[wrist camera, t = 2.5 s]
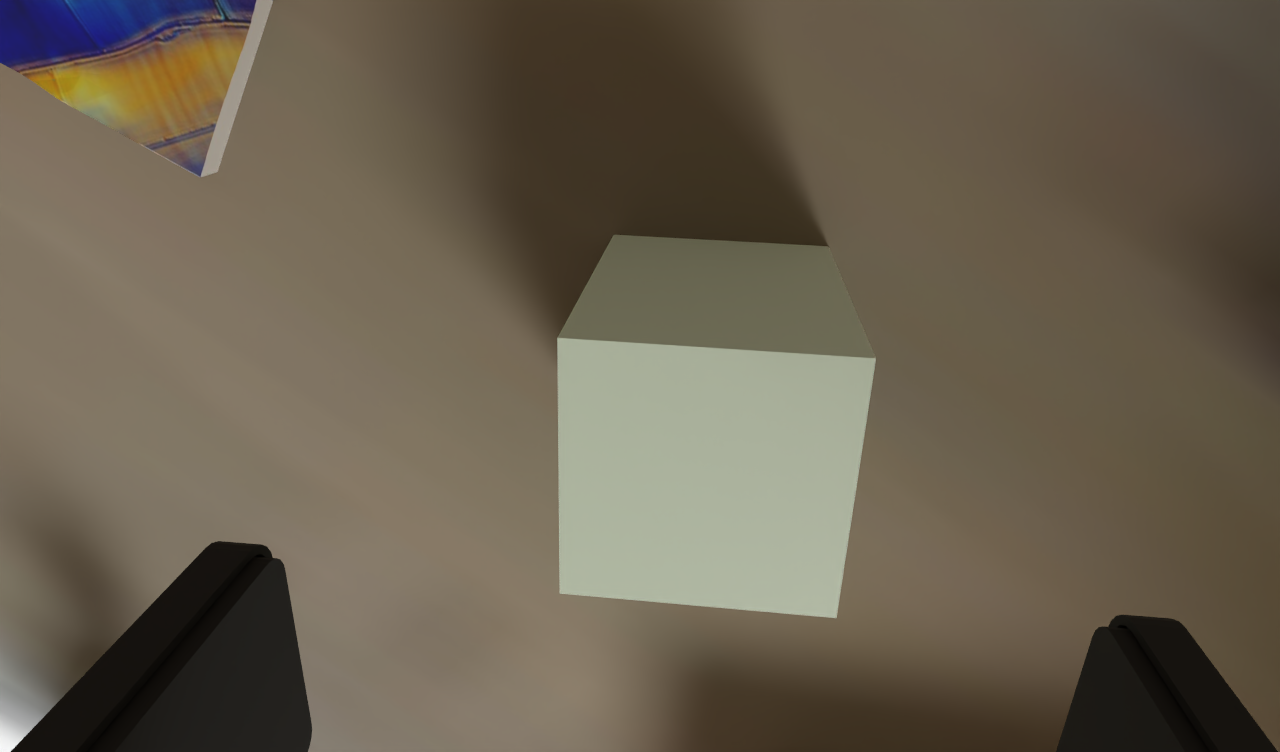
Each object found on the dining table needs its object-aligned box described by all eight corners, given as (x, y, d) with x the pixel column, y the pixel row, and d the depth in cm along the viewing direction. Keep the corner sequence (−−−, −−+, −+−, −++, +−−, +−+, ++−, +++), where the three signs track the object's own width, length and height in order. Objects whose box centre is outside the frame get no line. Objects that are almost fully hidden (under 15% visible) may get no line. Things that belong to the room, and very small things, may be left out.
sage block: (828, 246, 19) (875, 358, 13) (804, 438, 21) (836, 618, 15) (613, 234, 20) (557, 337, 13) (610, 424, 22) (559, 593, 15)
